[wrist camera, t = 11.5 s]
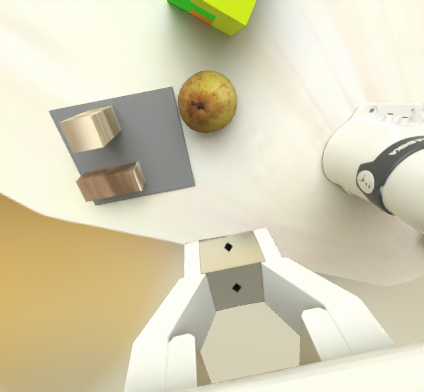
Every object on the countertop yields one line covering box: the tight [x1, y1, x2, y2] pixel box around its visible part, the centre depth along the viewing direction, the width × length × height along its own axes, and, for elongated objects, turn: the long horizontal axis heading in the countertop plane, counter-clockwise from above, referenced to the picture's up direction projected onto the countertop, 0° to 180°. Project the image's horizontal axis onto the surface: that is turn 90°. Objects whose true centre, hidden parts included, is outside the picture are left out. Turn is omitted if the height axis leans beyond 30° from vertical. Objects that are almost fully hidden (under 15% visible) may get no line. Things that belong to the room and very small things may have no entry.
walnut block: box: [76, 162, 145, 202], centre depth 41 cm, size 4×4×10 cm
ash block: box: [59, 106, 121, 153], centre depth 34 cm, size 4×4×10 cm
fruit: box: [178, 71, 237, 133], centre depth 34 cm, size 9×9×12 cm
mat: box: [49, 87, 195, 205], centre depth 41 cm, size 20×18×1 cm
